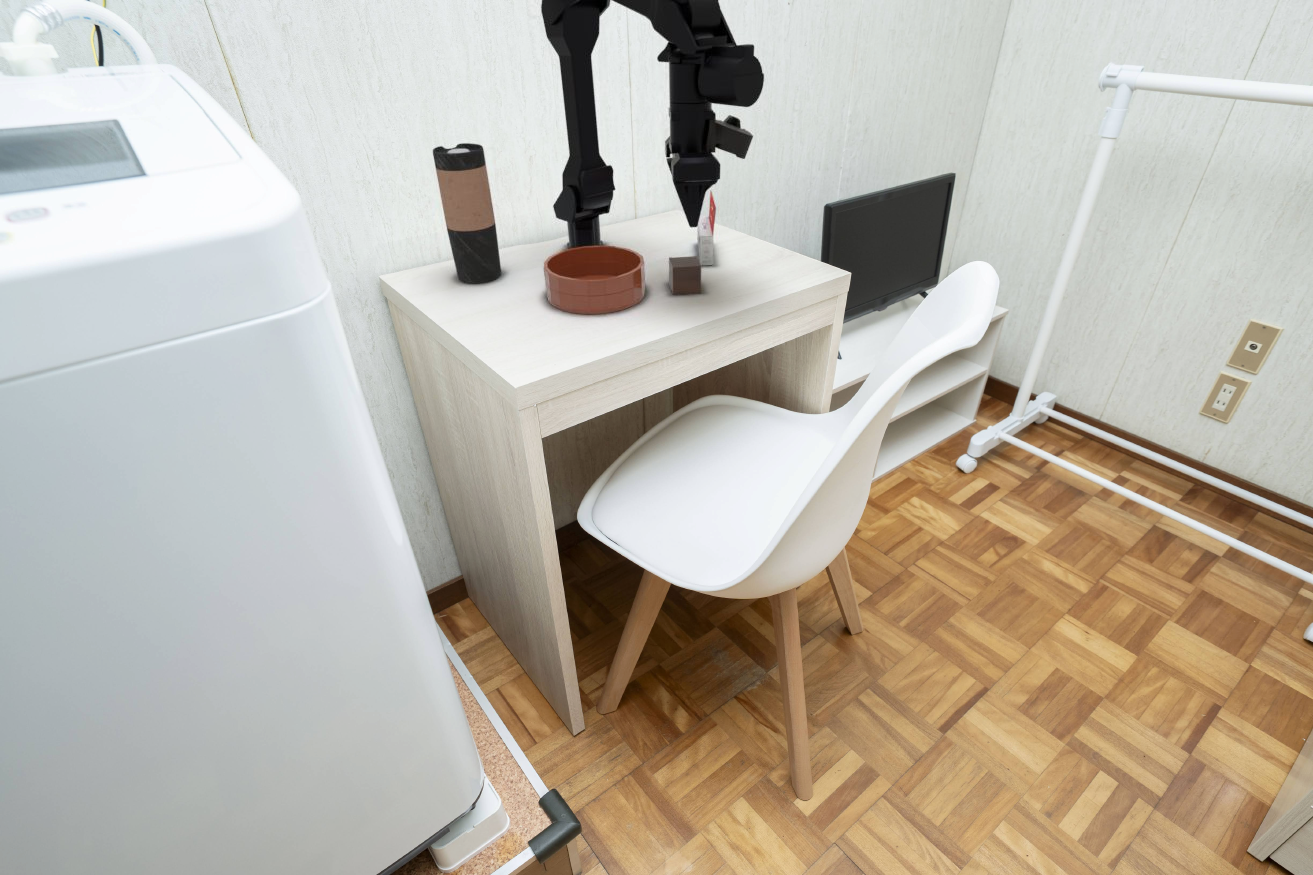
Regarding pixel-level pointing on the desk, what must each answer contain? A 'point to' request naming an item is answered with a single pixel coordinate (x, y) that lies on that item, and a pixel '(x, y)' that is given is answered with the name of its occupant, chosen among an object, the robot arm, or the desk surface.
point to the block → (685, 275)
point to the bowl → (595, 279)
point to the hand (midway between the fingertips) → (690, 218)
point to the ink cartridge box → (706, 235)
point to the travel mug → (468, 211)
